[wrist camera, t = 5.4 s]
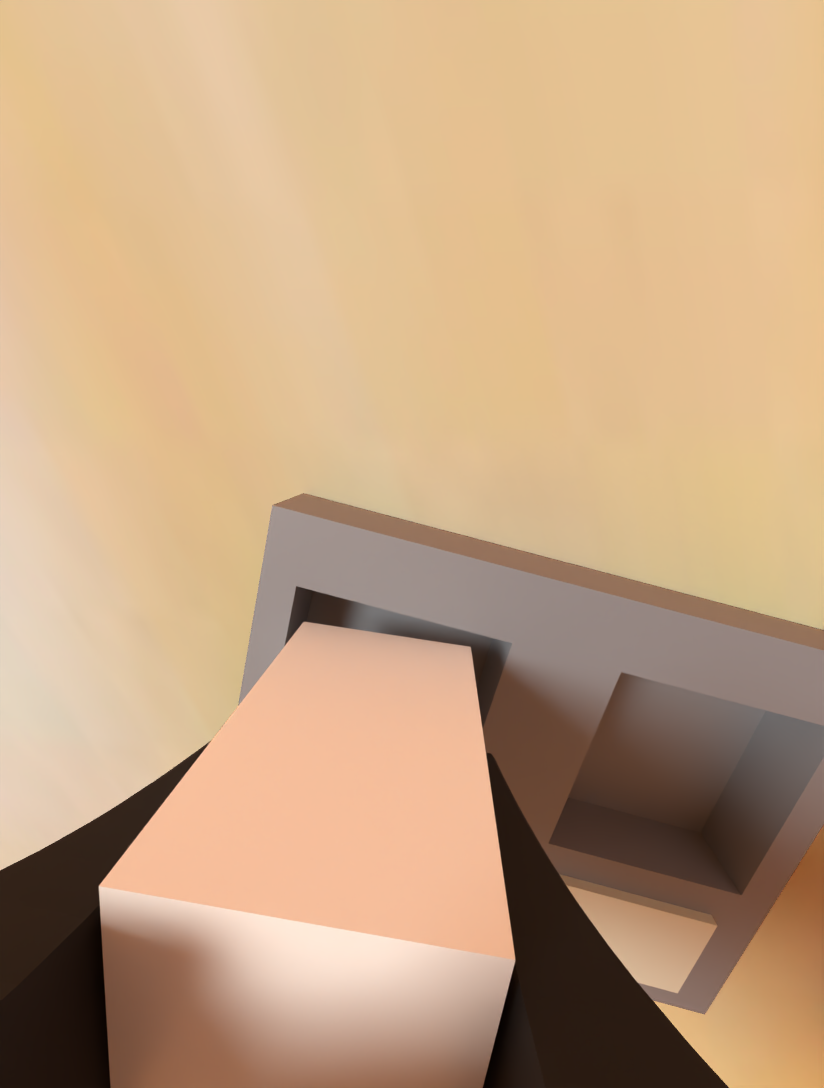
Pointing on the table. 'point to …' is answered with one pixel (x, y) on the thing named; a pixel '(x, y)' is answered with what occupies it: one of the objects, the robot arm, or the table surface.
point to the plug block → (319, 885)
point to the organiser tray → (595, 721)
